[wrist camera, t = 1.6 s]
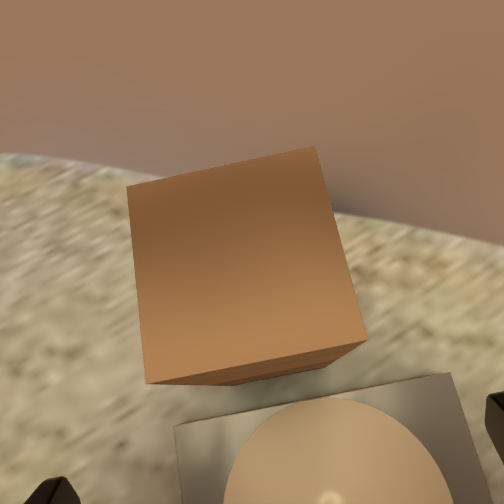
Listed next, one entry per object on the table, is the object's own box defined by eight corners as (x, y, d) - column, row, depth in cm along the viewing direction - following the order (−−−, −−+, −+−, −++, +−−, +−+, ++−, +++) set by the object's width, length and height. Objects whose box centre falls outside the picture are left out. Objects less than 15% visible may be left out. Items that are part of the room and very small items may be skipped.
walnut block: (324, 367, 20) (367, 339, 8) (231, 385, 20) (145, 384, 8) (303, 276, 21) (314, 146, 10) (216, 294, 21) (126, 186, 10)
